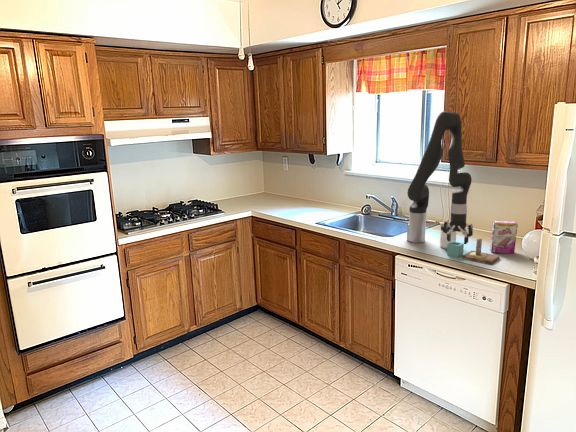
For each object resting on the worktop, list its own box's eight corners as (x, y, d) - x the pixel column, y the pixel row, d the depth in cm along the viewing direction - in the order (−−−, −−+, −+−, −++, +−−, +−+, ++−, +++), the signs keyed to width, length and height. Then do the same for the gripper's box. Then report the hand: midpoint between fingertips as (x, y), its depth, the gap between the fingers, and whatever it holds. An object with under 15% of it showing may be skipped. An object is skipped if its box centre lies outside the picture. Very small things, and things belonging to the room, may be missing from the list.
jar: (444, 249, 236) (446, 228, 233) (436, 245, 244) (437, 224, 241) (459, 247, 239) (460, 226, 236) (449, 243, 246) (451, 222, 243)
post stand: (462, 258, 221) (464, 239, 219) (471, 253, 229) (472, 234, 227) (491, 264, 212) (493, 244, 210) (499, 258, 220) (501, 239, 217)
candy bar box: (491, 253, 228) (494, 222, 224) (489, 250, 233) (492, 220, 229) (514, 254, 226) (518, 223, 222) (512, 251, 230) (515, 221, 226)
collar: (446, 254, 227) (447, 243, 226) (451, 252, 232) (452, 241, 230) (458, 257, 223) (458, 246, 222) (463, 254, 228) (463, 243, 226)
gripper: (441, 211, 224) (440, 242, 228) (470, 214, 215) (468, 246, 218) (448, 209, 230) (446, 238, 233) (475, 212, 220) (474, 243, 224)
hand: (457, 242), depth 226 cm, fingers open, 8 cm apart
